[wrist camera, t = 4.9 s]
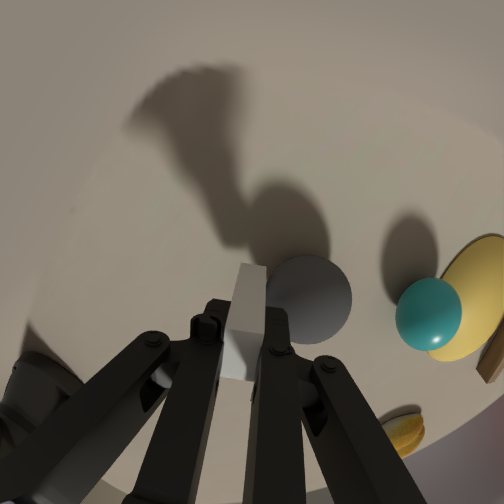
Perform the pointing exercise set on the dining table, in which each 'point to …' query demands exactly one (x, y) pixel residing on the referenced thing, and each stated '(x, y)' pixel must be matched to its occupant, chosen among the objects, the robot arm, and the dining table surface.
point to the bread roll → (405, 433)
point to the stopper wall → (493, 358)
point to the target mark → (476, 296)
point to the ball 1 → (310, 297)
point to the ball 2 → (428, 314)
